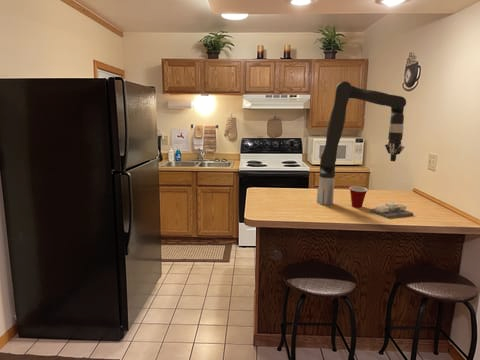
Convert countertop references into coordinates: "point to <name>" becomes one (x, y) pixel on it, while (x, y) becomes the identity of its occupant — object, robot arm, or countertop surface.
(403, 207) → the key
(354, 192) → the plastic cup
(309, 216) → the countertop surface
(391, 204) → the key
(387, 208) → the key
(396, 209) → the keypad board
